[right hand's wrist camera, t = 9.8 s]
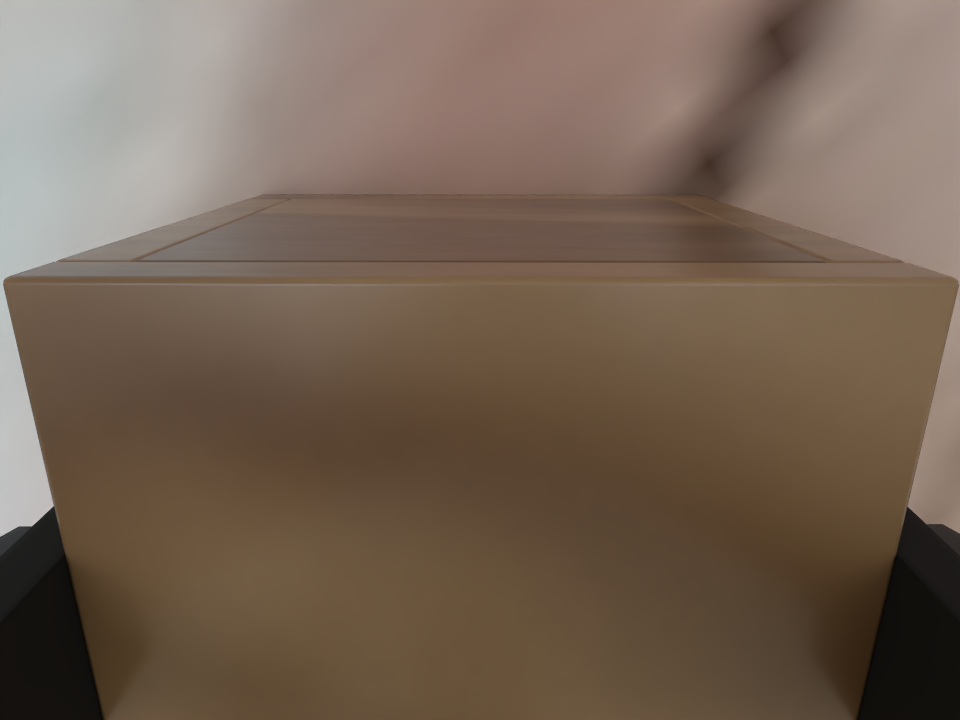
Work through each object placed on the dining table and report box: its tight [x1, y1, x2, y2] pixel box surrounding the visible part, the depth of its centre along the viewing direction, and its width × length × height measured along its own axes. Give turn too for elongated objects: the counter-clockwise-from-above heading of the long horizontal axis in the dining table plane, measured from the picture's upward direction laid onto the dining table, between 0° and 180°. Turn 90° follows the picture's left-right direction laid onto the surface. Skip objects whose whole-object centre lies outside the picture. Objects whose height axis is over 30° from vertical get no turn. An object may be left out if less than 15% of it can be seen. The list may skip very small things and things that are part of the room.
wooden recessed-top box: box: [3, 195, 959, 720], centre depth 15 cm, size 20×10×9 cm, turn 0°
